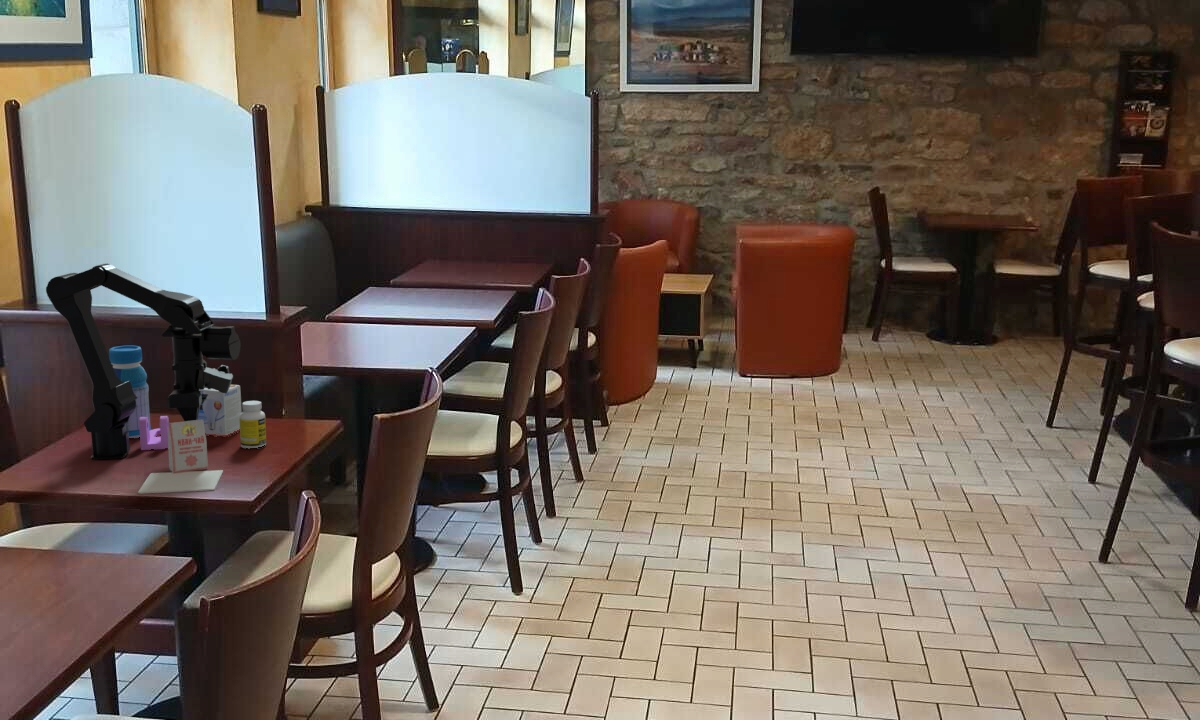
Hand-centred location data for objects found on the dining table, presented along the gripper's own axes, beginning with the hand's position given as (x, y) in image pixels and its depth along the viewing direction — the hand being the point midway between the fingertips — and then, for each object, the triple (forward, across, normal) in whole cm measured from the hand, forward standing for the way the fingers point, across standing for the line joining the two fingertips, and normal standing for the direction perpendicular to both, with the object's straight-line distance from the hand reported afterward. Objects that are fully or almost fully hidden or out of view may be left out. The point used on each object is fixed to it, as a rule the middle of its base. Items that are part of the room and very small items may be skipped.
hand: (193, 430), depth 240 cm
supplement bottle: (+6, +8, -11) cm, 15 cm away
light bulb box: (+6, +21, -1) cm, 22 cm away
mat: (+6, -16, 0) cm, 17 cm away
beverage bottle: (+6, +21, +17) cm, 28 cm away
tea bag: (+6, -8, 0) cm, 10 cm away
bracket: (+6, +15, +10) cm, 19 cm away
